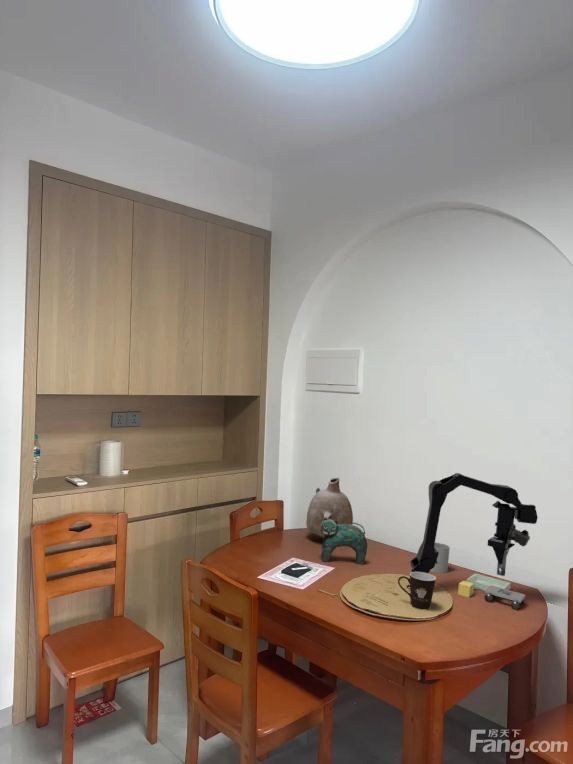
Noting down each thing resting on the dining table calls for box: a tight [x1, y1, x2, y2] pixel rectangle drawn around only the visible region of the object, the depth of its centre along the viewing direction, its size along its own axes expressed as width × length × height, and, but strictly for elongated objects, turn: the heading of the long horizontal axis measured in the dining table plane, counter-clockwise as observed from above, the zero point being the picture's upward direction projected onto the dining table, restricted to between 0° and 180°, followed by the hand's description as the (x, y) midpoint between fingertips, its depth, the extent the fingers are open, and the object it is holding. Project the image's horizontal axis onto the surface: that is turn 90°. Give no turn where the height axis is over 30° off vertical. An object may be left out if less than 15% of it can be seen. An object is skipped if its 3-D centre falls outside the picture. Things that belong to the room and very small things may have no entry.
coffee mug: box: [397, 571, 437, 610], centre depth 186 cm, size 12×9×10 cm
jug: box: [305, 477, 354, 540], centre depth 256 cm, size 24×21×30 cm
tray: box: [465, 573, 512, 594], centre depth 210 cm, size 11×14×2 cm
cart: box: [484, 585, 526, 611], centre depth 196 cm, size 12×9×4 cm
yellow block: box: [457, 580, 475, 598], centre depth 200 cm, size 5×4×4 cm
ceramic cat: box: [320, 513, 368, 565], centre depth 226 cm, size 20×6×20 cm, turn 92°
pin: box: [496, 550, 508, 577], centre depth 200 cm, size 4×4×10 cm
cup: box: [430, 542, 450, 574], centre depth 227 cm, size 8×8×10 cm
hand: (501, 563), depth 201 cm, fingers closed on pin, 3 cm apart
